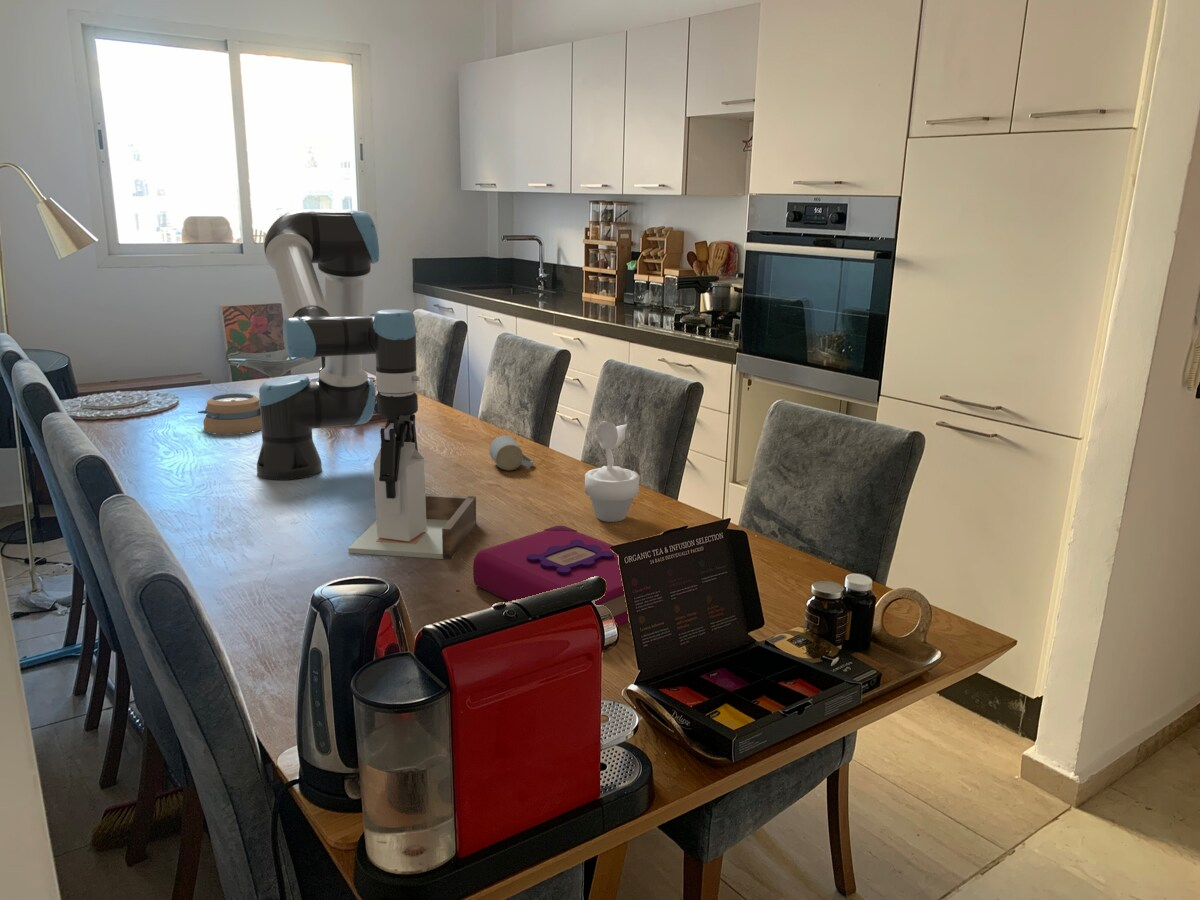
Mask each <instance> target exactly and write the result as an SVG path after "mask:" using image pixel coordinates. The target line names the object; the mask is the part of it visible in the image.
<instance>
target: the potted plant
mask: <svg viewBox="0 0 1200 900" xmlns="http://www.w3.org/2000/svg"><path fill="white" fill-rule="evenodd" d="M624 415H625V416H624V419H623V421H624V424H621V425H617V426H616V425H615V424H614V423H613V422H610V421H604V420H603V421H601V422H600V423H599V424H597V425H596V428H595V429H596V430H595V434H596V437H597V439H598V441H599V442H598V443H599V446H600V447H601V449H602V450H605V458H606V461H607V465H603V466H602V467H598V468H593V469H590V470H588V471H587V472H586V473H585V474H584V493H585V495H587V496H588V497H589V499H590V501H591V504H592V508H593V511H594V514H595V516H596V518H597V519H598V520H600V521H603V522H608V523H617V522H621V521H624V520H625V519H626V517H627V515H628V513H629V511H630V508H631V506H632V502H633V500H634V498H636V497H637V496H638V495H639V492H640V491H639V490H640V474H638V473H637V471H634V470H631V469H628V468H622V467H621V466H620V465H619V466H617V465H614V463H615V461H614V455H613V451H612V450H614V449H616V448H618V447H619V446H620V445H621V444H622V443H623V442H625V439H626V429H627V427H628V423H627V420H628V417H627V413H625V414H624ZM628 437H629V439H630V437H631V431H628Z"/></svg>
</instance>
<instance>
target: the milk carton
mask: <svg viewBox="0 0 1200 900" xmlns="http://www.w3.org/2000/svg"><path fill="white" fill-rule="evenodd" d="M380 457H381V448H380V449H379V451H378V452H377V456H376V458H375V459H374V462H373V480H374V482H373V483H374V499H375V501H374V502H375V519H376V520H375V522H377V537H379V538H386V539H394V540H402V541H410V540H412V539H414V538H415V537H417V536H418V535H420V534H421V533H423V532H424V531H426V530H427V525H426V498H425V494H426V478H425V474H426V473H425V458H424V457H423V456H422V455H421V453H420V452H419V450H418V451H417V450H416V449H415V443H411V442H404V446H403V447H402V448H401V453H400V462H399V471H398V480H400V504H401V513H400V514H389V513H386V506H385V481H379V478H380ZM388 475H389V474H388Z"/></svg>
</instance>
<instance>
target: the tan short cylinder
mask: <svg viewBox="0 0 1200 900" xmlns="http://www.w3.org/2000/svg"><path fill="white" fill-rule="evenodd" d="M197 414H204V415H205V414H206V415H205V417H204V419H203V420H202V421H203V430H205V431H204V432H205V433H208V432H210V433H209V434H211V433H216V434H215V435H220V434H235V435H241V434H240V433H245V434H248V433H247V432H251V433H253V432H252V431H256V432H259V431H262V430H261V429H262V428H261V413H260V405H259V397H257V396H256V395H254V394H250V393H240V392H239V393H225V394H224V393H223V394H219V395H215V396H212V397H211V398H210V399H207V400H206V406H205V409H204V410H199V411H197ZM258 430H259V431H258Z"/></svg>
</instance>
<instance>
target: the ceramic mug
mask: <svg viewBox="0 0 1200 900" xmlns="http://www.w3.org/2000/svg"><path fill="white" fill-rule="evenodd" d="M489 455H490V457H491V459H492V460H493V462H494V463H495V464H496V466H497V467H499V468H500V470H501V469H502V470H503V471H509V472H510V471H514V470H517V469H518V468H519V467H520V466H523V467H525V468H532V466H533V464H534V460H532V458H530V457H529V456H527V455H525V454H524V453H523V450H522V448H521V447H520V446H519V444H518V442H517V440H515V438H513V437H512V436H509V435H499V436H497V437H495V438H494V439H493V440H492V442H490V446H489Z"/></svg>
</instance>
